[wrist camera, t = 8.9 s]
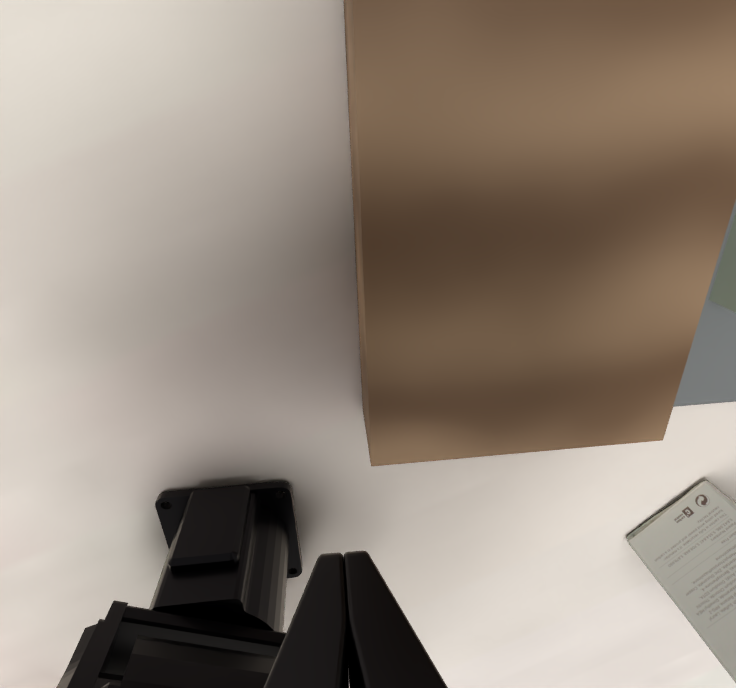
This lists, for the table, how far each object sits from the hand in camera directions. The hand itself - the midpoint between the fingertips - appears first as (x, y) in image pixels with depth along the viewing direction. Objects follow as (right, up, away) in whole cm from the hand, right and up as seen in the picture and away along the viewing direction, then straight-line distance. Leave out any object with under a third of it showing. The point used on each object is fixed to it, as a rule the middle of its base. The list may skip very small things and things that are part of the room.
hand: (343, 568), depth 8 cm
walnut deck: (+6, +9, +10) cm, 15 cm away
